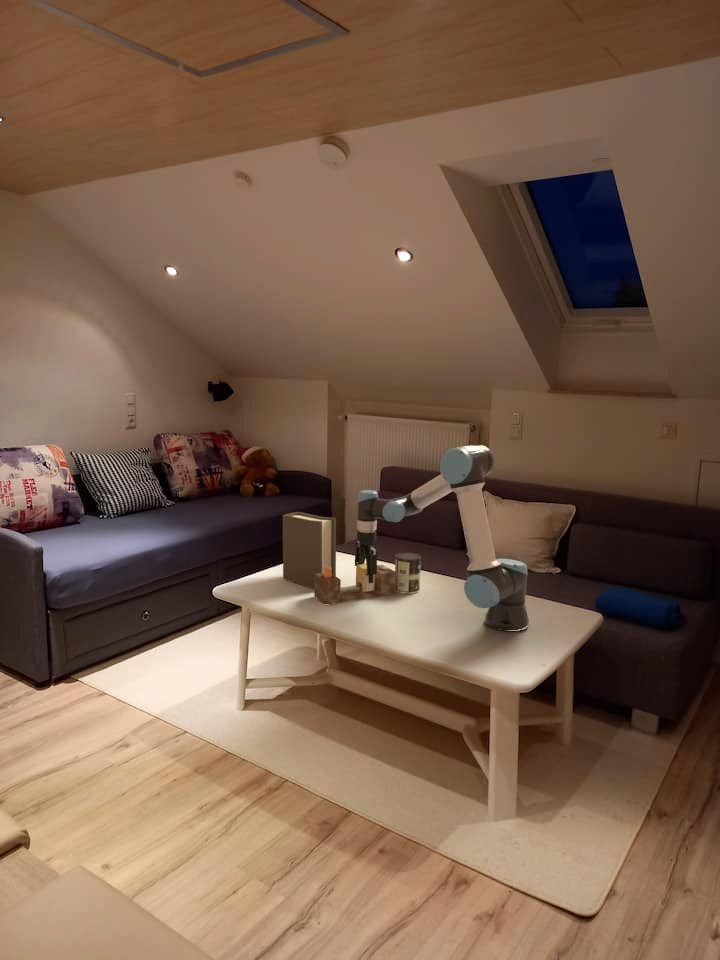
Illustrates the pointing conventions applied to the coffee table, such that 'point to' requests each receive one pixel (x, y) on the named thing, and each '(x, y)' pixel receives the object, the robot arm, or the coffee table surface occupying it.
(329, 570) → the orange peg
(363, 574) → the carriage
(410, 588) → the coffee can
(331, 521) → the book
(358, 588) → the bar
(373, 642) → the coffee table surface
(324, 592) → the wooden base
